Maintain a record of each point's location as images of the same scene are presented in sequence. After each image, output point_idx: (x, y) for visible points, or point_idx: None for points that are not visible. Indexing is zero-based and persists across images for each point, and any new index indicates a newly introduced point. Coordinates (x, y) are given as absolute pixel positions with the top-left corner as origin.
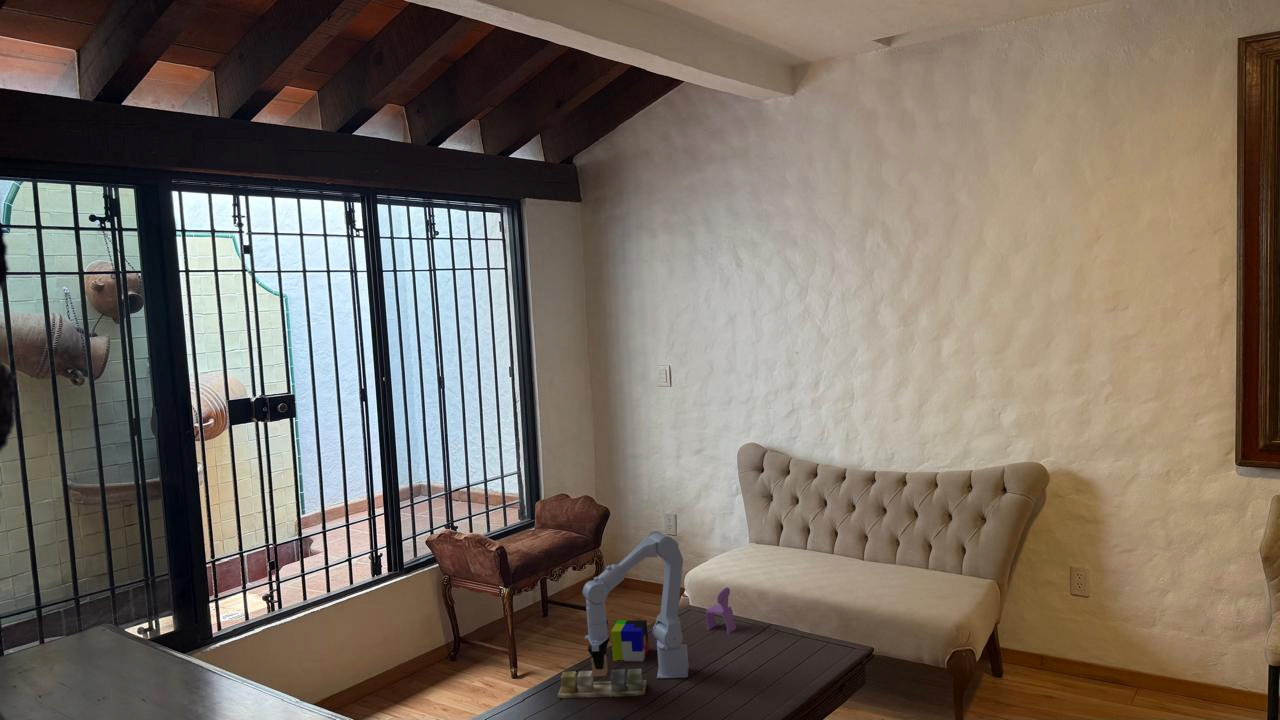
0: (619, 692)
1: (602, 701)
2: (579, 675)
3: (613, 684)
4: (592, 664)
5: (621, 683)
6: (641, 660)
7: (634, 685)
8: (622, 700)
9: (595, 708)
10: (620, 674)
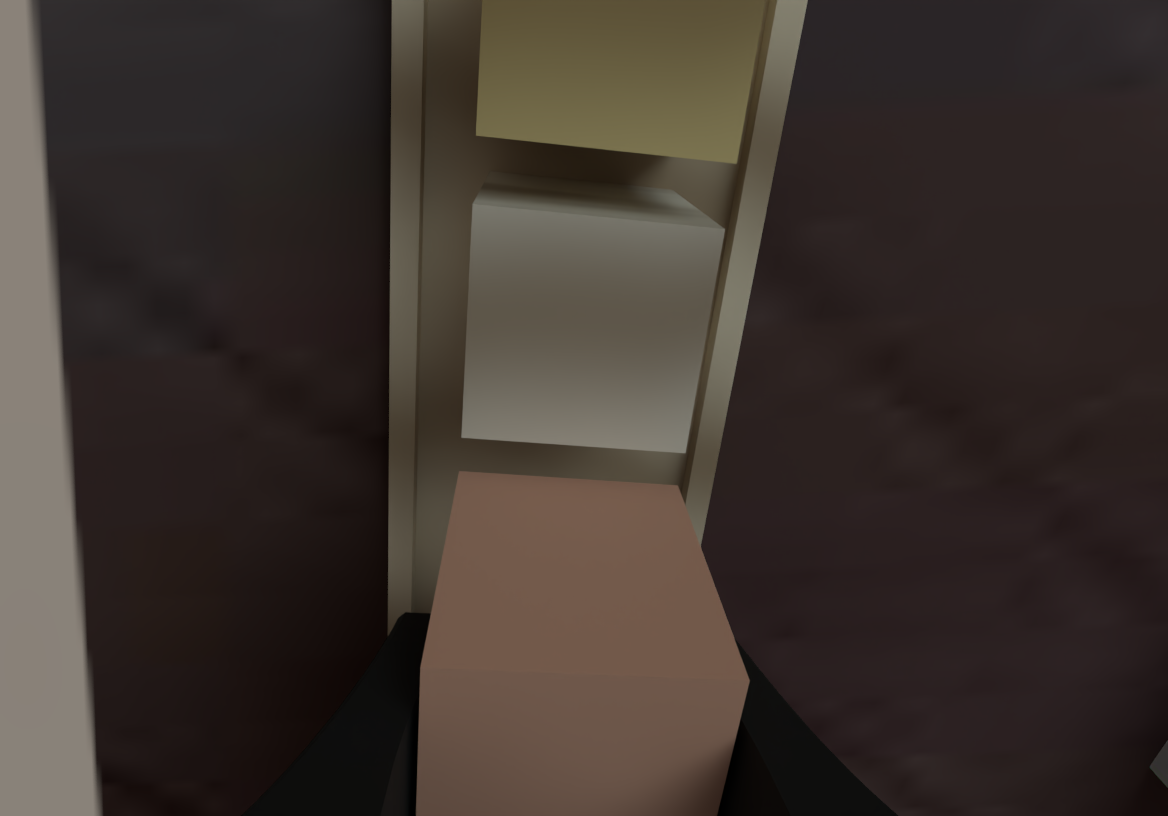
0: None
1: (280, 464)
2: (523, 244)
3: None
4: (436, 609)
5: None
6: (1162, 763)
7: None
8: (297, 647)
9: (91, 398)
10: None
